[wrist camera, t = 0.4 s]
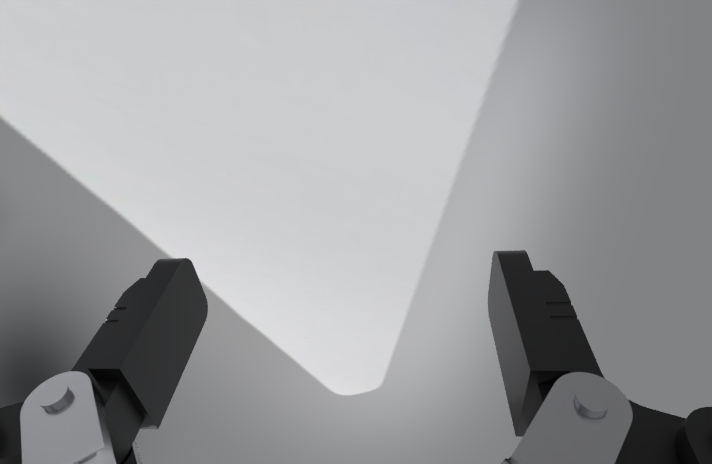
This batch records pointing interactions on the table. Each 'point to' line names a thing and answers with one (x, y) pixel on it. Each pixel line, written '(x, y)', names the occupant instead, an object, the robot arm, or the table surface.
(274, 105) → the table surface
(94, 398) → the robot arm
